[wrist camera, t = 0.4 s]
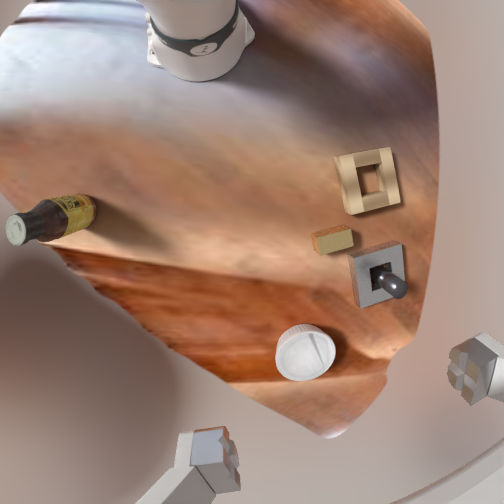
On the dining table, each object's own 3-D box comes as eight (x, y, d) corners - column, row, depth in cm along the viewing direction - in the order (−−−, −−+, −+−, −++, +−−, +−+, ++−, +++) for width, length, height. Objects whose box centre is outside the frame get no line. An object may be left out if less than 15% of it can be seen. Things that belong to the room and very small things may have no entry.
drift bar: (310, 233, 53) (317, 237, 49) (342, 224, 53) (350, 228, 49) (314, 249, 54) (320, 255, 50) (345, 240, 54) (353, 246, 50)
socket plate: (347, 254, 54) (353, 258, 51) (393, 240, 54) (401, 243, 51) (354, 302, 57) (360, 308, 54) (398, 287, 57) (405, 292, 54)
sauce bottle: (100, 195, 48) (37, 209, 29) (96, 230, 50) (35, 259, 30) (69, 190, 48) (2, 202, 28) (66, 224, 49) (0, 249, 30)
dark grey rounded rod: (366, 266, 55) (391, 283, 45) (380, 261, 55) (407, 278, 46) (368, 281, 56) (392, 301, 46) (382, 276, 56) (408, 295, 46)
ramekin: (338, 333, 58) (347, 346, 53) (306, 373, 60) (312, 389, 55) (294, 308, 56) (300, 321, 51) (261, 353, 58) (264, 368, 53)
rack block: (333, 156, 50) (339, 156, 47) (382, 147, 50) (390, 146, 47) (345, 212, 52) (351, 214, 49) (392, 200, 52) (400, 202, 50)
